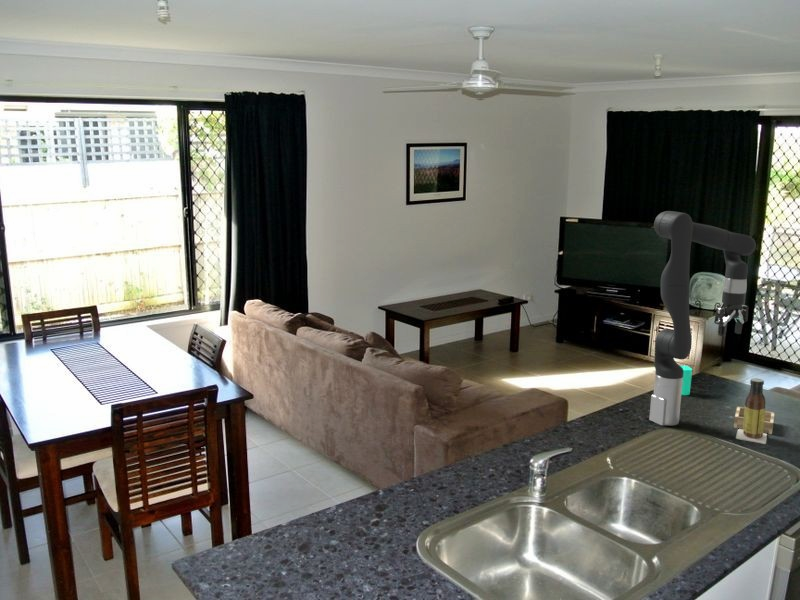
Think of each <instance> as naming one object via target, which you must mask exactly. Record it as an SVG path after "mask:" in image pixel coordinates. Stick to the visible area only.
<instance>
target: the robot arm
mask: <svg viewBox="0 0 800 600" xmlns="http://www.w3.org/2000/svg"><path fill="white" fill-rule="evenodd" d="M653 227H654V231H655V233H656V234H657V235H658V236H659V237H662V238H664V239H668V240H671V241H670V243H671V248H670V249H671V250H670V252H671V253H670V256H669V260H668V262H667V263H666V265H665V267H664V268H663V270H662V273H661V276H660V297H661V300H662V302H663V305H664V306H665V309H666V310H667V312H668V314H669V316H670V318H671V321H672V325H673V326H672V327H673V330H672V329H670V328H669V329H668V328H665V329H661V330H660V331H659V332H658V334H657V336H656V337H655V341H654V356H653V357H654V358H653V359H654V360H653V362H654V363H653V365H654V368H655V376H654V385H653V387H654V388H653V394H651V396H650V405H649V406H650V408H649V417H648V418H649V420H648V421H651V422H654V423H655V424H657V425H660V426H677V425H678V424H679V423H680V412H681V404H682V402H681V401H682V395H681V393H682V383H683V373H684V371H683V368H682V367H681V366H682V365H679V364H678V363H677V361H676V360H686V359H687V358H688V357H689V355H690V353H691V351H692V344H693V343H692V331H691V330H692V329H691V322H690V321H691V319H690V318H691V317H690V289H691V287H690V285H691V284H690V267H691V263H690V262H691V248H692V247H691V246H692V242H693V243H697V244H700V245H703V246H706V247H709V248H712V249H716V250H720V251H721V250H722V251H723V254H724V255H723V257H724V262H725V275H724V281H723V285H722V297H721V302H722V304H723V306H722V307H718V306H717V307H716V310H715V316H714V323H713V324H715V325H718V330H717V334H718V336H719V337H725V335H726V327H727V326H726V325H727V323H728V322H730V321H731V320H733V319H734V321H735V326H734V333H735V334H737V335H741V334H742V330H743V325H744V323H745V322H746V323H747V322H748V320H749V305H746V304H745V303H746V297H747V296H746V295H747V286H748V283H747V282H748V281H747V279H748V270H749V265H748V263H747V262H745V261H743V260H742V259H741V256H744V257H745V256H750V255H751V254H753V253H754V252H755V251H756V248H757V247H756V246H757V243H756V240H755V239H754V238H753V237H752V236H750V235H747V234H743V233H737V232H733V231H729V230H727V229H723V228H720V227H717V226H713V225H708V224H703V223H699V222H698V223H697V222H694V221H693V219H692V217H691V215H690V214H688V213H686V212H680V211H673V210H666V211H663V212H660V213H659V214H658V215H657V216H656V217H655V220H654V222H653ZM675 359H676V360H675Z"/></svg>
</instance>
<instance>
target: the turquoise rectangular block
mask: <svg viewBox="0 0 800 600" xmlns="http://www.w3.org/2000/svg"><path fill="white" fill-rule="evenodd" d="M680 366H681V367H682V368H683V371H684V373H683V383H682V393H681V396H689V395H691V387H692V385H691V384H692V377H693V376H692V375H693V368H691V367H690V366H688V365H686V364H684V365H680Z"/></svg>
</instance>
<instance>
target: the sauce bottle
mask: <svg viewBox="0 0 800 600" xmlns="http://www.w3.org/2000/svg"><path fill="white" fill-rule="evenodd" d="M749 383H750V388H749V392H748V395H747V396H746V398H745V402H744V408H745V411H744V424H743V429H742V430H744V431H743V433H744V435H746V436H747V437H750V438H761V437H762V436H763V432H764V419H765V411H766V397H765V395H764V391H763V388H764V384H765V380H764V379H762V378H757V377H754V378H750V382H749Z"/></svg>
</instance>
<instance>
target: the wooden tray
mask: <svg viewBox="0 0 800 600" xmlns="http://www.w3.org/2000/svg"><path fill="white" fill-rule="evenodd" d="M744 411H745V406H736V410H735V415H734V422H733V428H734V429H738V428H739V429H742V430H743V424H744ZM774 420H775V412H773V411H767V410H765V419H764V432H763V433H765V434H767V433H768V434H767V435H773V431H774V430H773V429H774V422H775V421H774Z"/></svg>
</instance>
